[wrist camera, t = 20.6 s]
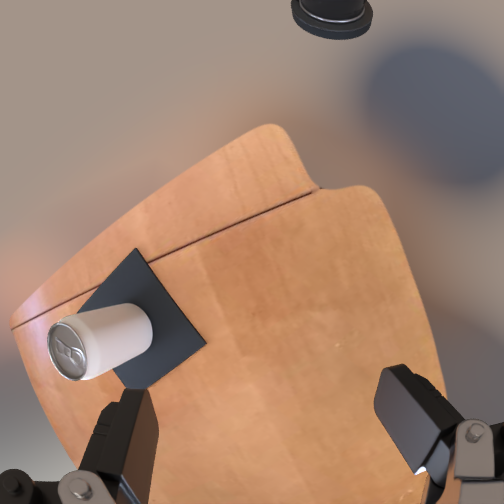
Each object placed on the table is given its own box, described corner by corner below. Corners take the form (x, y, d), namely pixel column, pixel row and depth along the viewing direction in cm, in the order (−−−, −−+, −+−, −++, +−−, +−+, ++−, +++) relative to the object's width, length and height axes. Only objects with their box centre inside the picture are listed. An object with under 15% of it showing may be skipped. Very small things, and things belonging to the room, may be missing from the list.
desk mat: (77, 312, 36) (76, 313, 35) (136, 247, 34) (135, 247, 34) (134, 396, 34) (133, 397, 33) (206, 343, 32) (206, 344, 32)
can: (150, 361, 33) (89, 397, 21) (109, 342, 34) (44, 366, 22) (158, 312, 33) (92, 334, 21) (115, 295, 34) (45, 307, 22)
